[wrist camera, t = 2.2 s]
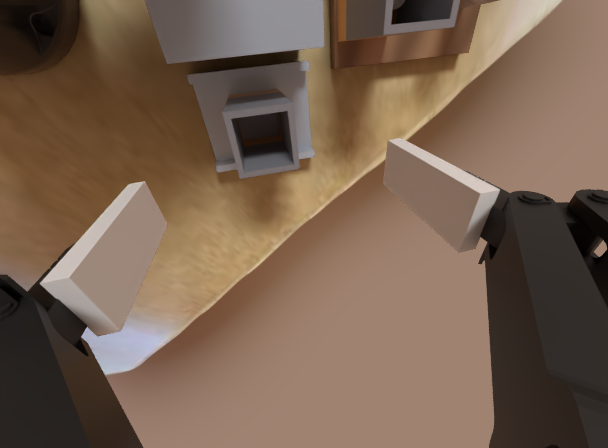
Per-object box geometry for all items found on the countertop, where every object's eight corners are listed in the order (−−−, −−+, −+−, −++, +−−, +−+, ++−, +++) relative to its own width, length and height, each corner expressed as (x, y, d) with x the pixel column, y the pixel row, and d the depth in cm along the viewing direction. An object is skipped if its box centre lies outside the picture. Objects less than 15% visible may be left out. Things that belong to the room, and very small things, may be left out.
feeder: (218, 165, 31) (210, 204, 23) (170, 9, 22) (128, -18, 14) (310, 151, 32) (333, 182, 24) (299, -2, 23) (329, -33, 15)
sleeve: (240, 145, 29) (239, 179, 21) (228, 95, 26) (222, 112, 18) (284, 138, 30) (300, 168, 22) (277, 89, 27) (293, 103, 19)
